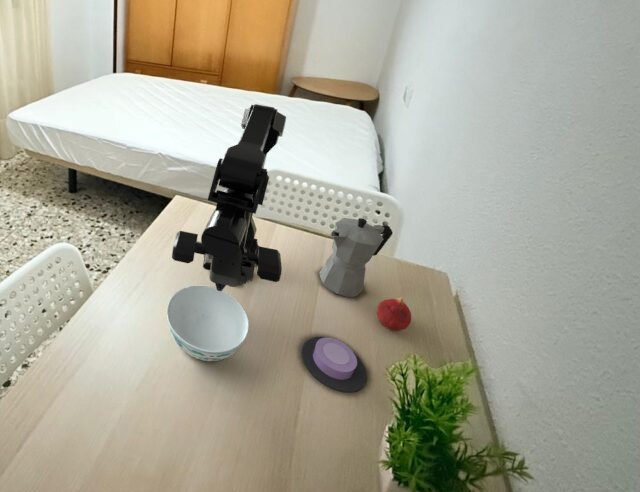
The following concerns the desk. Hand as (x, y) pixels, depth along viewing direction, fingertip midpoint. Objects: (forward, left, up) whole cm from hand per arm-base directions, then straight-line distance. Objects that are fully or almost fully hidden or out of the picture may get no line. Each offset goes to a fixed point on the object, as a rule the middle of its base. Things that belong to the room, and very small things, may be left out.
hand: (219, 289), depth 76 cm
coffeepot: (+18, +32, -11) cm, 38 cm away
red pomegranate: (+28, +24, -11) cm, 38 cm away
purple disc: (+21, +8, -10) cm, 25 cm away
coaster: (+21, +8, -11) cm, 25 cm away
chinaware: (0, -4, -11) cm, 12 cm away
